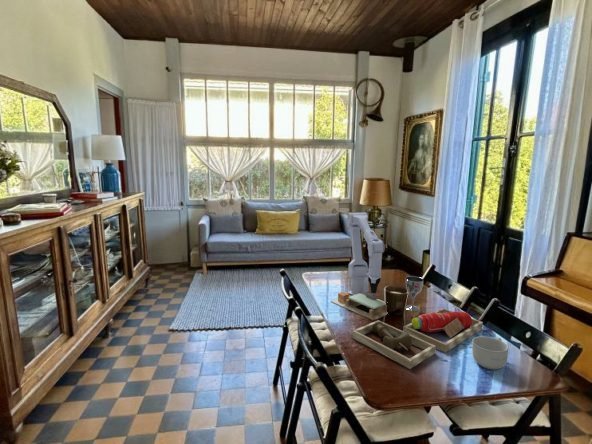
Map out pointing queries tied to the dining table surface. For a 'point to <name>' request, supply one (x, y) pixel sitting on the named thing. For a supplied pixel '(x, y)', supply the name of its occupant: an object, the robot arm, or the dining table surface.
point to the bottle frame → (451, 343)
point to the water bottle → (443, 322)
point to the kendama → (389, 340)
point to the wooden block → (343, 297)
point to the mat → (338, 302)
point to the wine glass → (413, 290)
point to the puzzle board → (372, 313)
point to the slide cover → (367, 300)
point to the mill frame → (403, 360)
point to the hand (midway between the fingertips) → (373, 292)
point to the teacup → (490, 352)
